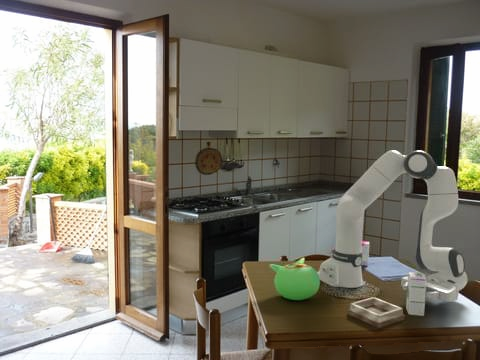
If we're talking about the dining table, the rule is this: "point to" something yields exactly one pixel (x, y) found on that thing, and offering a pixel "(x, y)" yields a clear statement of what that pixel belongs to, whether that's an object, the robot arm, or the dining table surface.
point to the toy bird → (296, 280)
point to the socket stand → (376, 312)
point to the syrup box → (416, 293)
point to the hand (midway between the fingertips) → (415, 291)
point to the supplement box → (365, 253)
